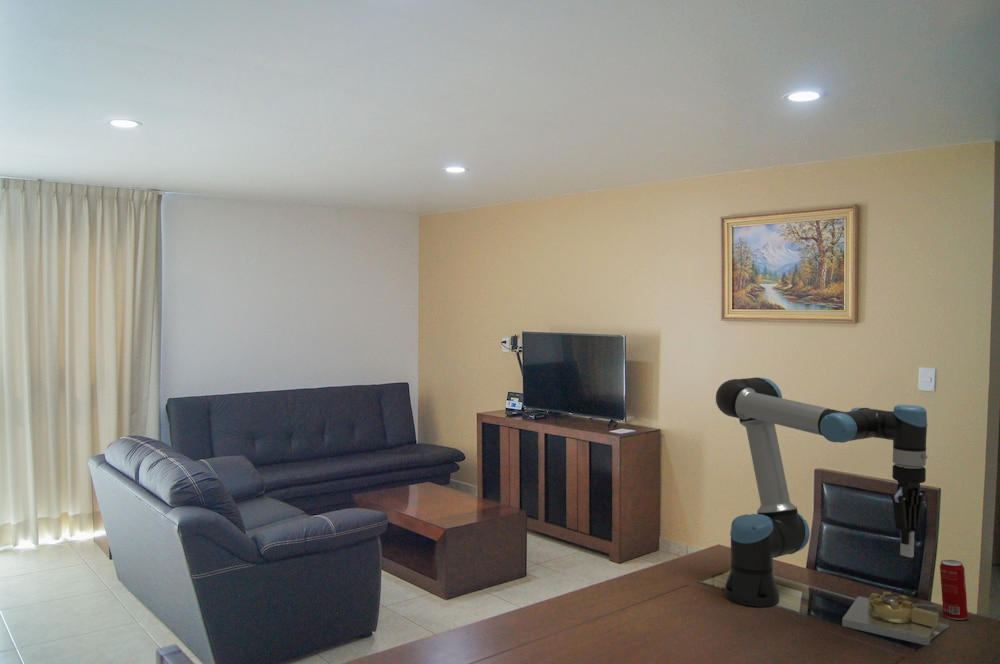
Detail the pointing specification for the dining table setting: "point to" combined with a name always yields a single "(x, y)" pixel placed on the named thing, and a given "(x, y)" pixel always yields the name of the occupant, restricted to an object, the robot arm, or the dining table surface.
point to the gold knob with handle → (899, 610)
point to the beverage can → (953, 589)
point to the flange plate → (888, 623)
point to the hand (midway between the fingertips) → (906, 555)
